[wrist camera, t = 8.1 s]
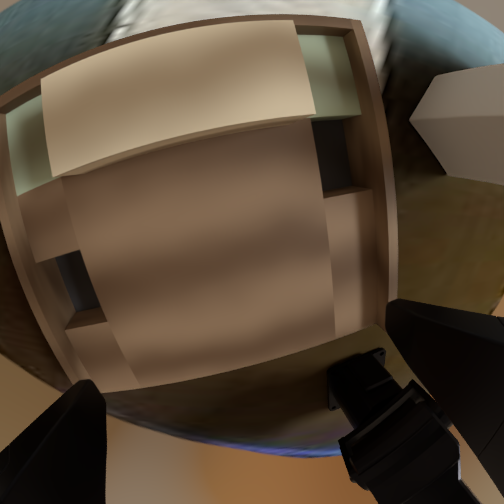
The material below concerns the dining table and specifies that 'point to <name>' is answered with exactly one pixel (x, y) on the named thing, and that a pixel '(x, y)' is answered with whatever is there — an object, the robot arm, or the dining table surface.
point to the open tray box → (209, 229)
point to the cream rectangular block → (174, 93)
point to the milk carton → (465, 122)
